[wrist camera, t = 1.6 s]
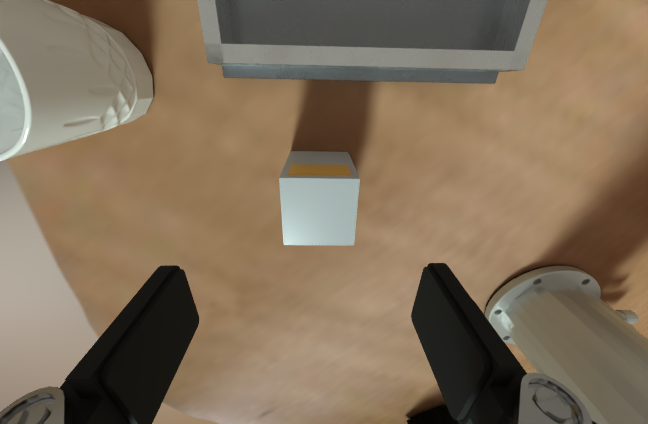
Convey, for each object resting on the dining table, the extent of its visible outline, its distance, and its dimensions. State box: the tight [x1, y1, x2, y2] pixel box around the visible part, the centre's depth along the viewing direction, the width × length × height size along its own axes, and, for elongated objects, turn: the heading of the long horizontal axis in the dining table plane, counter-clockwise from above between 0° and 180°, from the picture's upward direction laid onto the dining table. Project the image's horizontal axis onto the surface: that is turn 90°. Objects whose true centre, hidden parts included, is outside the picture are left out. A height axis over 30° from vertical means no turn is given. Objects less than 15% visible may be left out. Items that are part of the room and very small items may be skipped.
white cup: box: [0, 0, 153, 161], centre depth 14 cm, size 8×8×10 cm
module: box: [279, 151, 360, 245], centre depth 19 cm, size 5×5×7 cm
